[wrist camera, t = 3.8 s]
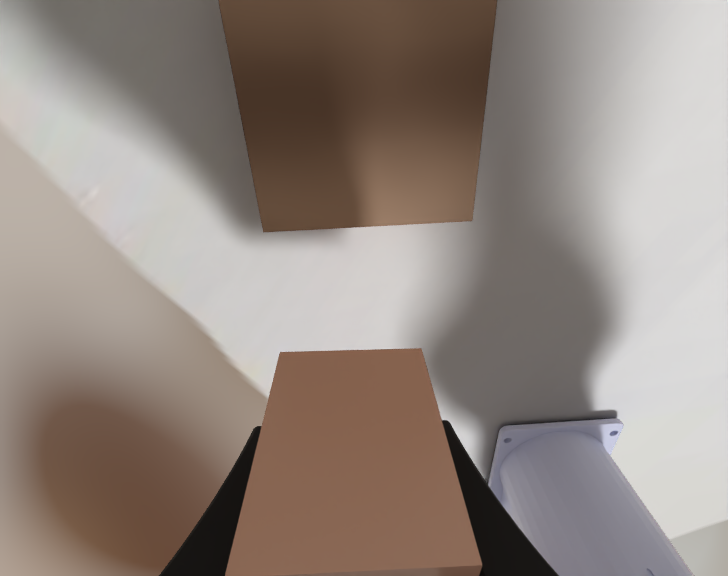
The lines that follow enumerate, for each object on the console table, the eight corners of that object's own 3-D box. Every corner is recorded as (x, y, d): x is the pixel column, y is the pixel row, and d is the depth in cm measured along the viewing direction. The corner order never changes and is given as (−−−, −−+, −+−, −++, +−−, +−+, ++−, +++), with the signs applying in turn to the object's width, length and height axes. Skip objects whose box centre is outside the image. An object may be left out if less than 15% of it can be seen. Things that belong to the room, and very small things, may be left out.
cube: (412, 441, 14) (451, 658, 9) (293, 445, 14) (261, 669, 8) (421, 348, 12) (482, 565, 6) (279, 351, 11) (224, 577, 6)
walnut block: (452, 198, 16) (472, 221, 14) (276, 207, 16) (263, 232, 14) (471, -32, 12) (503, -60, 10) (238, -21, 12) (208, -47, 10)
